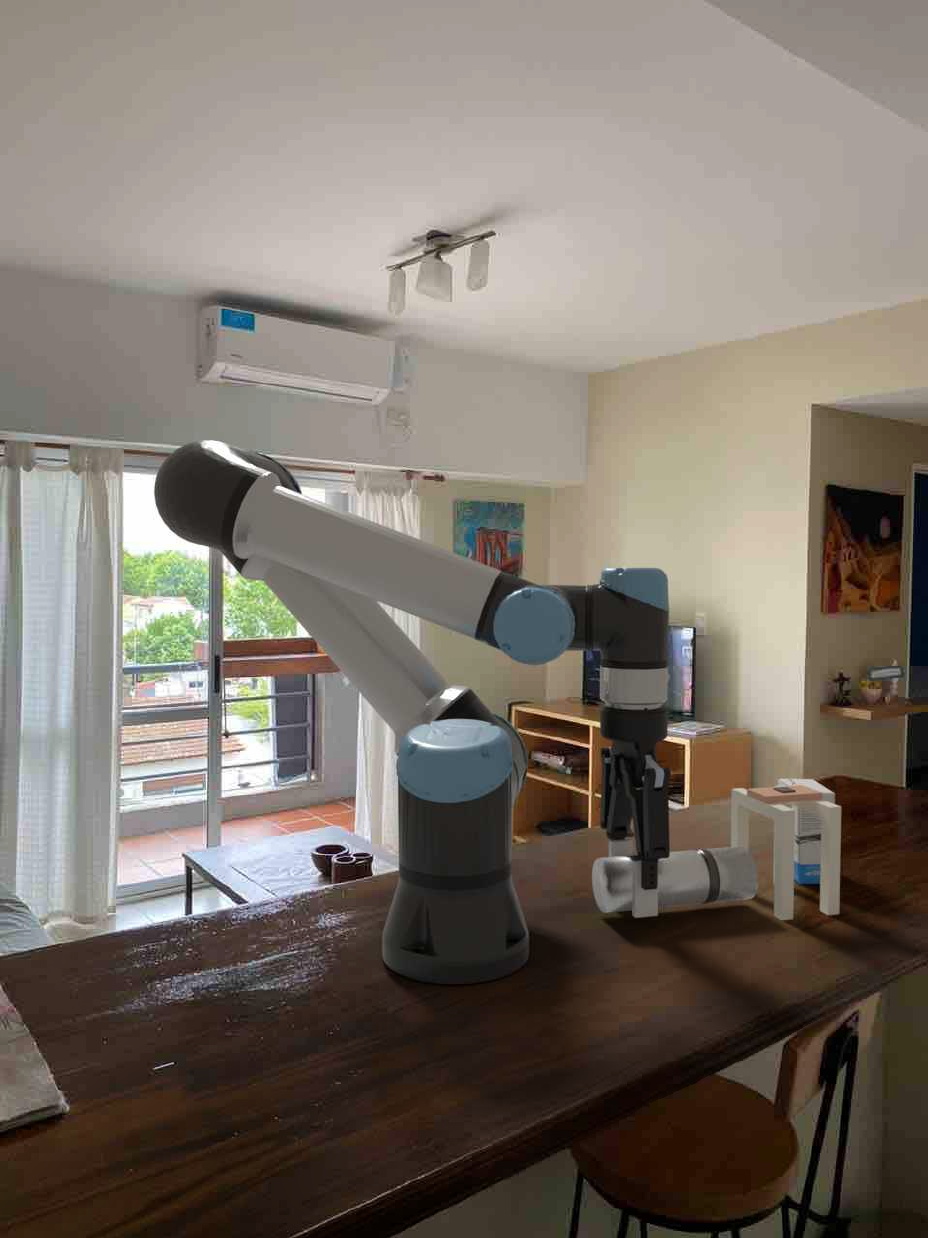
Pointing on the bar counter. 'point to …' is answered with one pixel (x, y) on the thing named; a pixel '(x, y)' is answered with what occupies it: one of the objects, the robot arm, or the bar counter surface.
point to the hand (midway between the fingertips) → (632, 904)
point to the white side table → (792, 839)
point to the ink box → (807, 835)
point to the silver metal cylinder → (680, 878)
